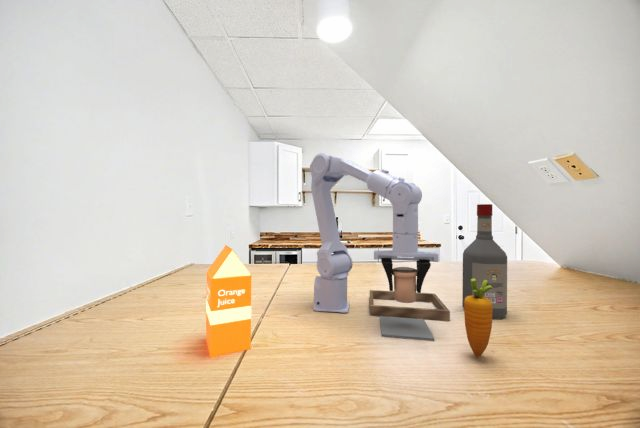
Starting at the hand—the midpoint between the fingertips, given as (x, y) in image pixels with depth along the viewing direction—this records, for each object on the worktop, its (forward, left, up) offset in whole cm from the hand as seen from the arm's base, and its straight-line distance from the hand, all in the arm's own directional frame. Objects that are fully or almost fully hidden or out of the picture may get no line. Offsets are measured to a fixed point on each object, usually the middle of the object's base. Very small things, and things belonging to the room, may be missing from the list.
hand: (404, 290), depth 65 cm
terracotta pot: (0, +1, -2) cm, 2 cm away
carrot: (+12, -11, -9) cm, 19 cm away
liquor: (+23, +15, -9) cm, 29 cm away
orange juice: (-37, -15, -9) cm, 41 cm away
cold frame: (+2, +15, -9) cm, 18 cm away
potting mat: (0, 0, -9) cm, 9 cm away
